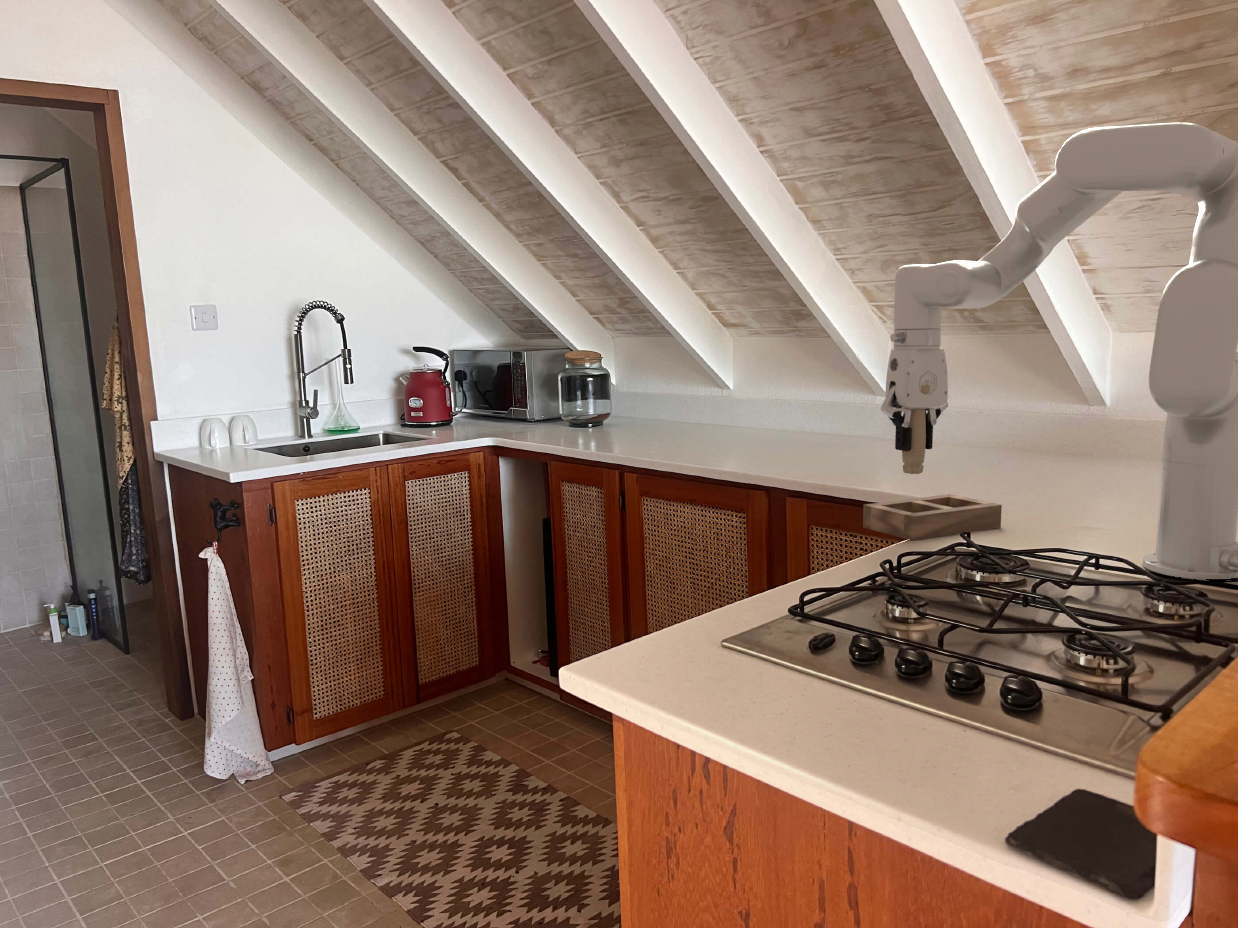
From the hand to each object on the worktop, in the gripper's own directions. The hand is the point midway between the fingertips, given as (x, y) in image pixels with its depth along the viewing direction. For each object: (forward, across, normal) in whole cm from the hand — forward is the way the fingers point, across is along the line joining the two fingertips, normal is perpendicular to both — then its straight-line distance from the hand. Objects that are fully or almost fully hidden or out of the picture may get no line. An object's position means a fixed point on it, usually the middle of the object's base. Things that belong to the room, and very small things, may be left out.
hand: (913, 448), depth 162 cm
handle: (+4, 0, 0) cm, 4 cm away
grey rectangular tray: (+14, +4, 0) cm, 15 cm away
